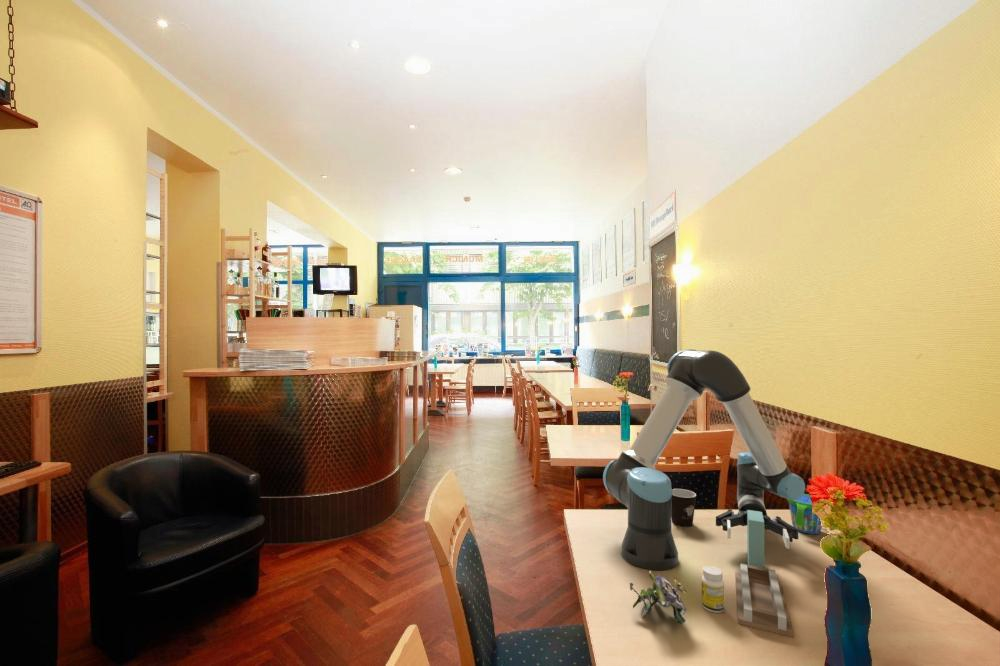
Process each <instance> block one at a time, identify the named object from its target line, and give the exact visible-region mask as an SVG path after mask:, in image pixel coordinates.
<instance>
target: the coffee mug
mask: <svg viewBox="0 0 1000 666" xmlns="http://www.w3.org/2000/svg"><path fill="white" fill-rule="evenodd" d="M696 499H697V493H695V492H694V491H692V490H689V489H683V488H673V489H672V506H671V524H673V525H675V526H677V527H682V528H690V527H693V524H694V516H695V509H696V508H695V507H696V502H697V501H696Z"/></svg>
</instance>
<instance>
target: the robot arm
mask: <svg viewBox="0 0 1000 666" xmlns="http://www.w3.org/2000/svg"><path fill="white" fill-rule="evenodd" d="M734 362H735V361H733V360H732V359H731V358H730V357H728V356H727V354H723V353H722V352H720V351H717V350H697V349H684V350H680V351H677V352H676V353H674V354H673V355H672V356H671V357H670V358H669V360H668V362H667V366H666V369H667V376H666V377H665V383H666V387H665V389H664V391H663V393H662V394H661V395H660V398H659V399H658V401H657V402H656V404H655V406H654V408H653V409H652V411H651V413H650V414H649V416H648V417H647V420H646V421H645V423H644V425H643V426H642V428H641V430H640V431H639V433H638V434H637V437H636V438H635V439H634V441H633V443H632V445H631V447H630V448H629V449H627V450H623V451H622V452H621V453H620V455H619V456H618V458H615V459H613V460H610V462H608V464H607V465H606V466H605V468H604V470H603V472H602V473H603V474H602V482H603V485H604V487H605V489H606V491H607V492H608V493H609V494H610V496H611V497H612V498H614V499H615V500H617V501H618V502H620V503H621V504H622V505H624V506H625V507H626V508H627V527H626V531H625V534H624V537H623V539H622V542H621V548H620V549H621V552H620V553H621V556H622V558H623V559H624V560H625V561H626V562H628V563H629V564H630V565H633V566H636V567H638V568H641V569H645V570H650V571H651V570H653V571H665V570H670V569H673V568H675V567H676V566H677V565H678V564H679V551H678V549H677V545H676V542H675V539H674V536H673V534H672V533H673V532H672V517H671V506H672V481H671V479H670V478H669V476H668V475H667V474H666V473H664V472H663V471H660V470H658V469H656V464H657V462H658V460H659V459H660V457H661V455H662V454H663V451H664V449H665V448H666V447H667V445H668V443H669V441H670V439H671V437H672V436H673V434H674V433H675V431H676V429H677V427H678V425H679V423H681V420H682V419H683V417H684V415H685V413H686V412H687V410H688V408H689V407H690V405H691V403H692V401H694V400H698V399H700V398H702V397H701V396H702V395H703V393H704V391H705V390H706V389H707V390H709V391H710V392H712V394H713V395H714V396H715V398H716V400H717V402H719V403H722V404H723V406H724V408H725V409H726V411H727V413H728V414H729V417H730V419H731V420H732V423H733V424H734V425H735V428H736V430H737V432H738V433H739V435H740V437H741V439H742V441H743V442H744V444H745V446H746V448H747V451H743V452H740V453H738V454H737V463H736V472H737V487H736V488H737V492H736V502H737V507H738V508H737V509H738V512H734V511H733V509H731V508H728V509H727V511H725V512H723V513H721V514H718V515H717V516H715V526H716V527H721V526H722V531H724V532H726V533H727V539H731V538H732V537H731V535H732V534H731V533H732V532H731V531H732V530H731V529H732V528H733V527H739V526H741V527H746V526H747V510H752V511H759V512H762V515H763V519H764V531H771V532H773V533H775V534H777V535H779V536H781V537H782V540H783V542H784V546H785V548H786V549H788V550H789V549H790V543H792V542H793V540H799V531H798V529H796V528H794V527H793V525H792V524H790V523H788V522H786V521H785V520H784V519H782V518H781V517H780V516H779V515H777V516H775V517H774V518H772V517H770V516H768V513H767V509H766V506H765V502H764V494H765V493H764V490H765V491H767V492H769V493H772V494H774V495H776V496H778V497H780V498H784V499H786V500H787V499H789V500H796V499H799V498H800V497H801V496H802V495H803V494H805V491H806V483H805V481H804V480H803V478H802V477H801V476H800V475H797V474H796V473H793V472H791V470H790V468H789V466H788V465H787V463H786V461H785V459H784V457H783V456H782V453H781V451H780V450H779V448H778V445H777V443H776V442H775V440H774V438H773V436H772V435H771V432H770V430H769V429H768V427H767V425H766V423H765V420H764V419H763V417H762V416H761V413H760V411H759V409H758V408H757V405H756V404H755V402H754V400H753V398H752V397H751V394H750V392H751V389H752V388H751V386H750V384H749V383H748V381H747V379H746V377H745V376H744V373H742V371H741V370H740V368H739V367H738V365H736V364H735V363H734Z"/></svg>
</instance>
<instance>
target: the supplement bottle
mask: <svg viewBox="0 0 1000 666" xmlns="http://www.w3.org/2000/svg"><path fill="white" fill-rule="evenodd" d="M723 576H724V575H723V570H722V569H720V568H718V567H715V566H712V565H707V566H703V568H702V576H701V605H702V607H703V608H704V610H706V611H708V612H711V613H716V614H719V613H720V614H721V613H723V612H724V611H725V581H724V579H723Z"/></svg>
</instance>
